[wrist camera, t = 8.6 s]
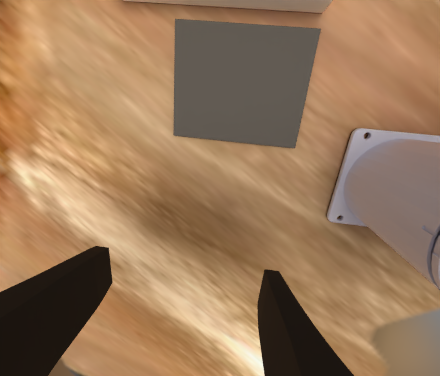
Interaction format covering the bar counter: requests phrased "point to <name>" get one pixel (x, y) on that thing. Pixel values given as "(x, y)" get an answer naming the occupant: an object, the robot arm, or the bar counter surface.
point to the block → (255, 4)
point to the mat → (241, 81)
